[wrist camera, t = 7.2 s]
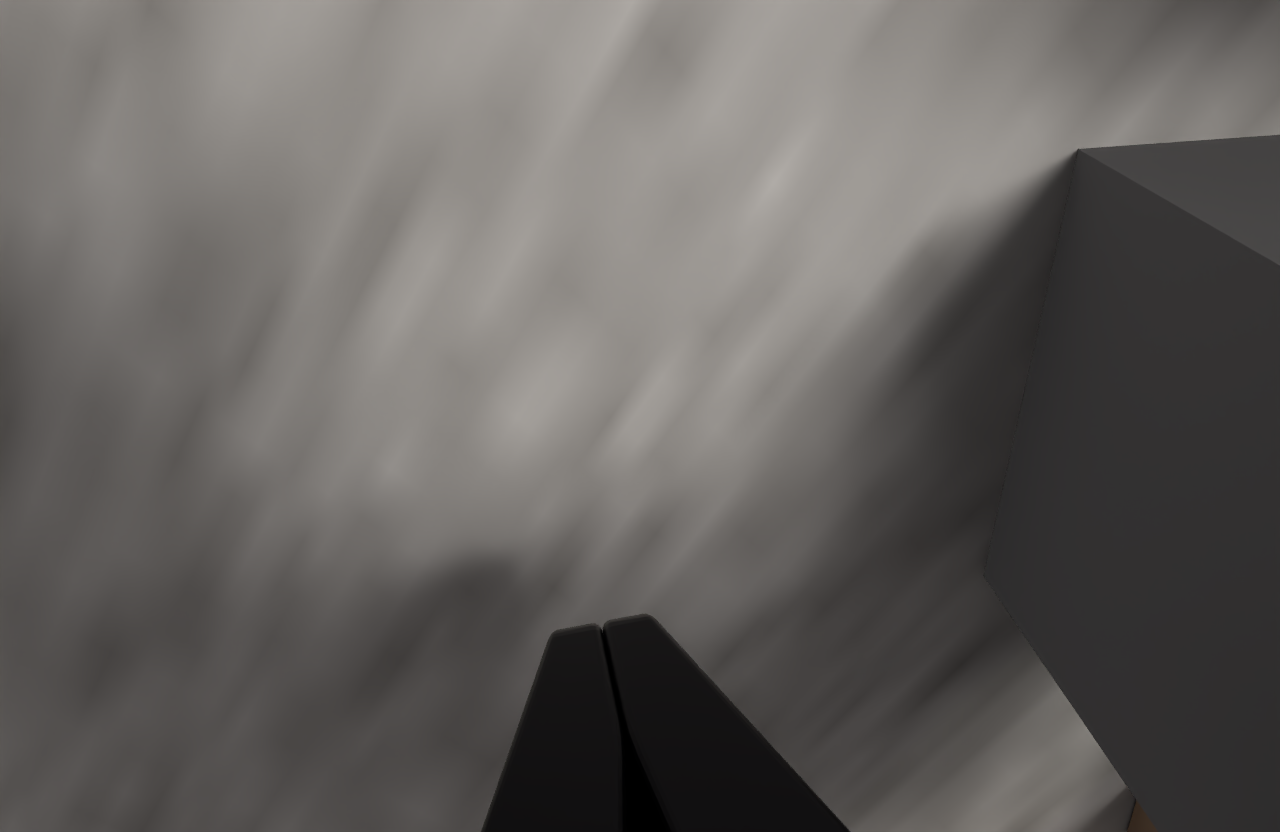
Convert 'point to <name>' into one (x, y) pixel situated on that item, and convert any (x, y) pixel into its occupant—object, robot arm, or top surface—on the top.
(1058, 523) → the dark grey stepped block
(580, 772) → the robot arm
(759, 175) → the top surface
